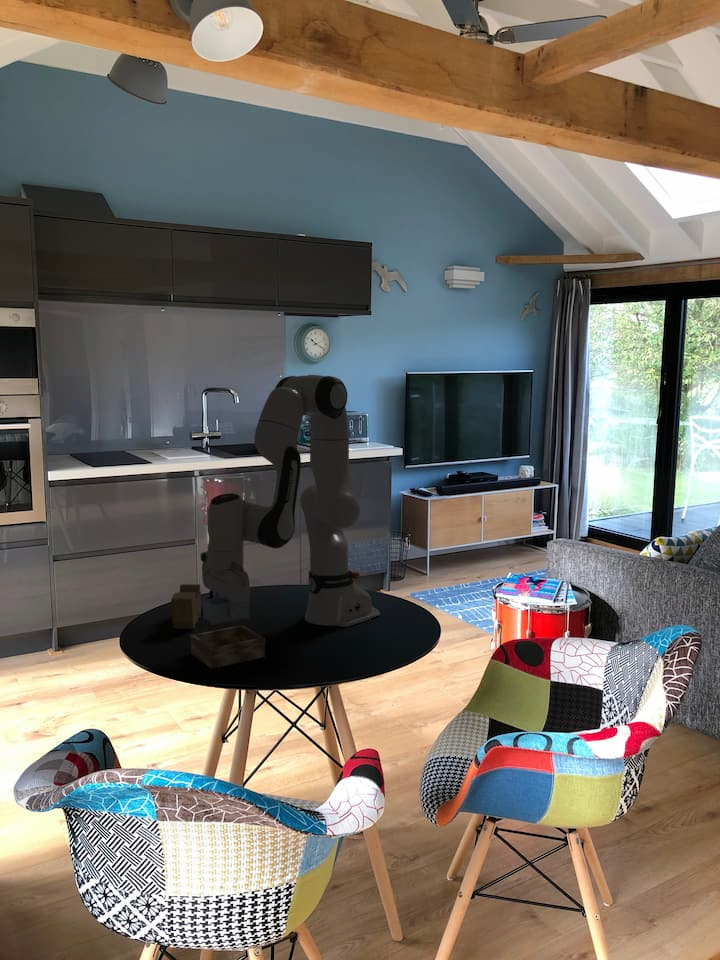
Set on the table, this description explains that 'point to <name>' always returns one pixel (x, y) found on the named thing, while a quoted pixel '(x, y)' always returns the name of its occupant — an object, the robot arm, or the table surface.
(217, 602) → the small crate
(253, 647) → the pine crate
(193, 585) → the toy train
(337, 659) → the table surface
